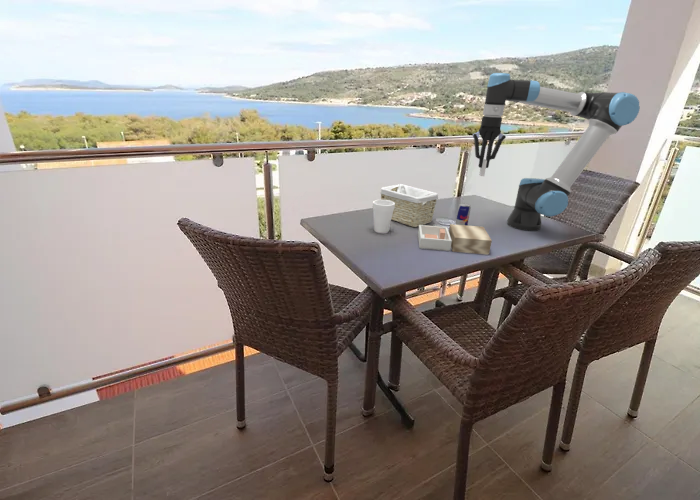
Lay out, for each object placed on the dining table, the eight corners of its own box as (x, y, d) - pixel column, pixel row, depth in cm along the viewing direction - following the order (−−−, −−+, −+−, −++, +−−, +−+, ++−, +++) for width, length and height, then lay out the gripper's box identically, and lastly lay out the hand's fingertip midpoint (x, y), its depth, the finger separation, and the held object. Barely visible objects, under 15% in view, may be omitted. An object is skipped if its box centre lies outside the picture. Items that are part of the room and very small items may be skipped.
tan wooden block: (480, 239, 161) (483, 226, 158) (488, 254, 146) (491, 240, 144) (447, 237, 162) (450, 224, 160) (452, 251, 147) (454, 237, 145)
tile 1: (424, 233, 157) (424, 238, 158) (425, 238, 152) (424, 242, 153) (437, 234, 156) (436, 239, 157) (437, 239, 152) (437, 243, 153)
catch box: (445, 236, 162) (447, 227, 160) (450, 251, 147) (451, 240, 146) (417, 234, 163) (419, 224, 161) (419, 248, 149) (420, 238, 147)
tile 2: (444, 229, 155) (439, 228, 155) (445, 233, 150) (440, 232, 150) (442, 240, 157) (438, 239, 157) (443, 244, 152) (438, 244, 152)
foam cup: (395, 229, 168) (397, 201, 163) (388, 236, 160) (390, 207, 155) (375, 225, 171) (377, 198, 166) (367, 232, 164) (369, 203, 158)
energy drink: (460, 232, 168) (464, 207, 163) (452, 228, 172) (456, 203, 168) (469, 231, 170) (473, 205, 166) (460, 227, 175) (465, 202, 170)
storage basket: (376, 216, 185) (379, 187, 180) (398, 210, 196) (400, 182, 190) (414, 229, 169) (418, 198, 164) (435, 222, 180) (440, 193, 174)
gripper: (477, 116, 145) (467, 176, 154) (512, 117, 143) (499, 178, 153) (473, 114, 151) (464, 172, 161) (506, 116, 150) (495, 174, 160)
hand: (481, 175), depth 157 cm, fingers closed
